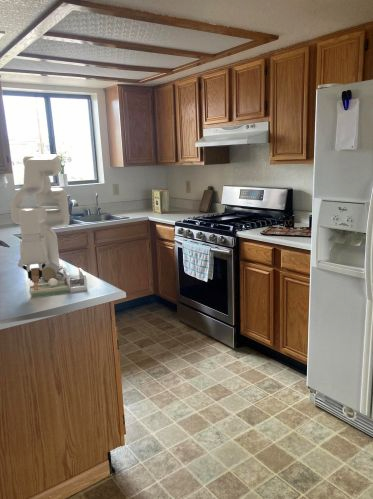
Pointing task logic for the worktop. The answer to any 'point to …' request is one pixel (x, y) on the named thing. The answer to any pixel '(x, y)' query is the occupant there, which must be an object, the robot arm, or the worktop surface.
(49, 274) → the ceramic mug
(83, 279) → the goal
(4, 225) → the worktop surface
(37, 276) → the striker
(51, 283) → the ball
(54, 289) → the field
